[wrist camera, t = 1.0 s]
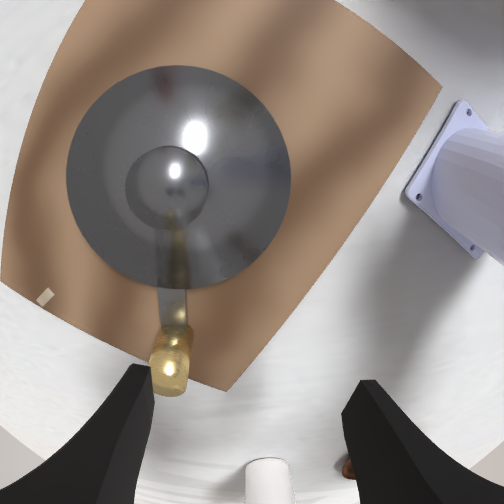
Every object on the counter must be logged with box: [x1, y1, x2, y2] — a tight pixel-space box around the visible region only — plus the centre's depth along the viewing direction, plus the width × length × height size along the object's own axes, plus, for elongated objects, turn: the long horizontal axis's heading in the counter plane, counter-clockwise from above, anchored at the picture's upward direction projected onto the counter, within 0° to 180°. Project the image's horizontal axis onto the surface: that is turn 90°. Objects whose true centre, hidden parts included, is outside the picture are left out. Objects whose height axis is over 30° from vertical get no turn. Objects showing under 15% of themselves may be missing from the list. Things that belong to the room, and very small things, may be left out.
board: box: [0, 0, 442, 392], centre depth 16 cm, size 20×26×1 cm
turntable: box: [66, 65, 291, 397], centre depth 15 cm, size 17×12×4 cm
